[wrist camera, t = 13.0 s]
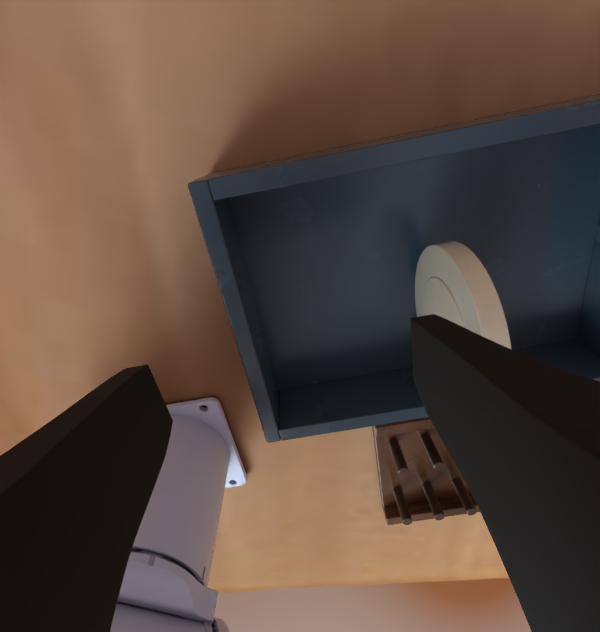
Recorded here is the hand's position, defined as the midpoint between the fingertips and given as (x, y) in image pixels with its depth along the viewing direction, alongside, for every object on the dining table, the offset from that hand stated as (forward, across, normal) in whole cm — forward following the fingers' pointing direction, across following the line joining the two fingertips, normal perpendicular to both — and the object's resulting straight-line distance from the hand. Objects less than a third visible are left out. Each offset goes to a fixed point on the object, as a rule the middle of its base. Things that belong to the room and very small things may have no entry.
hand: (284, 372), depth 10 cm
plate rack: (+10, -8, +16) cm, 21 cm away
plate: (+10, -7, +2) cm, 12 cm away
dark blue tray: (+10, -7, +2) cm, 13 cm away
